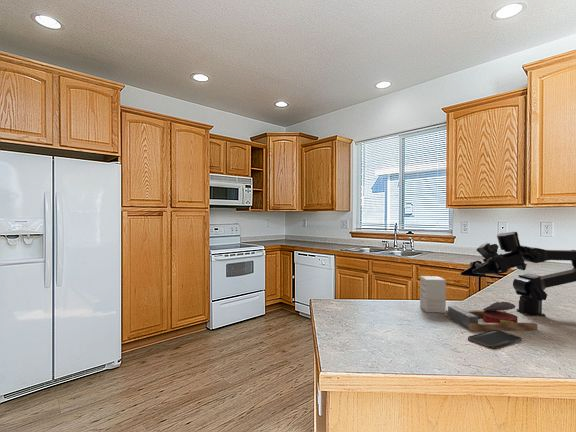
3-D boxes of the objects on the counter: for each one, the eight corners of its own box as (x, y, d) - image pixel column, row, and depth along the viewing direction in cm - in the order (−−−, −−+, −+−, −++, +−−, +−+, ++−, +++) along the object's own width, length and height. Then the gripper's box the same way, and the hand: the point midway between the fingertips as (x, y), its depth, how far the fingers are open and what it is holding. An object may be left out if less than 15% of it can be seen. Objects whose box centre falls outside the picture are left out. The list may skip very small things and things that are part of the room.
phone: (466, 337, 93) (496, 329, 100) (466, 340, 93) (496, 332, 100) (493, 347, 86) (524, 338, 93) (493, 351, 86) (523, 341, 93)
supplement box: (438, 307, 126) (439, 276, 126) (446, 313, 119) (446, 279, 119) (419, 306, 127) (419, 275, 127) (425, 312, 119) (426, 279, 119)
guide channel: (502, 315, 117) (502, 310, 117) (537, 330, 102) (537, 324, 102) (445, 315, 115) (445, 310, 115) (472, 330, 100) (472, 324, 100)
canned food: (487, 337, 107) (471, 309, 110) (493, 327, 115) (478, 301, 117) (524, 330, 100) (506, 300, 103) (528, 319, 107) (511, 292, 110)
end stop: (455, 317, 114) (456, 306, 114) (477, 329, 102) (478, 316, 102) (447, 317, 114) (448, 306, 114) (469, 329, 102) (469, 316, 102)
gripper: (483, 245, 131) (447, 256, 131) (510, 236, 113) (469, 248, 113) (495, 271, 128) (458, 282, 128) (525, 266, 110) (483, 279, 110)
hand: (466, 273), depth 120 cm, fingers open, 9 cm apart
